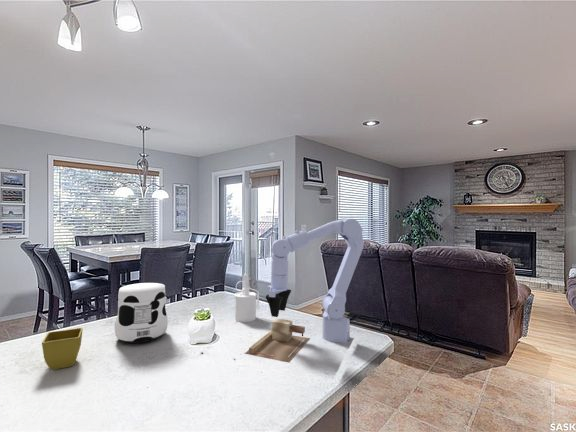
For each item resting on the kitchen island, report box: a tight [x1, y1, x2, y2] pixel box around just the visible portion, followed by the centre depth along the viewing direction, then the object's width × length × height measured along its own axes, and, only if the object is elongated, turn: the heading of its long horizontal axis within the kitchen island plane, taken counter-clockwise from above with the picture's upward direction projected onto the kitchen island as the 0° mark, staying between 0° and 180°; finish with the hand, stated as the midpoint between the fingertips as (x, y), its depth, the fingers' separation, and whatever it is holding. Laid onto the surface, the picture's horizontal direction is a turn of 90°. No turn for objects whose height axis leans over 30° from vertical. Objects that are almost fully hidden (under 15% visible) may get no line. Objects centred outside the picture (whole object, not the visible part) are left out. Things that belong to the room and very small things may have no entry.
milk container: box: [114, 282, 169, 344], centre depth 114 cm, size 17×17×18 cm
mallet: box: [271, 317, 306, 342], centre depth 110 cm, size 11×4×6 cm, turn 68°
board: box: [244, 329, 311, 363], centre depth 105 cm, size 15×20×3 cm
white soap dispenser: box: [233, 273, 260, 324], centre depth 132 cm, size 10×9×20 cm
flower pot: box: [41, 327, 84, 371], centre depth 93 cm, size 9×9×9 cm
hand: (278, 313), depth 111 cm, fingers open, 7 cm apart
